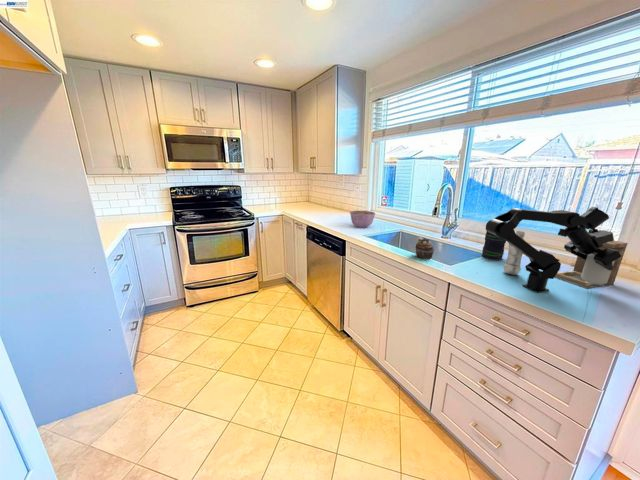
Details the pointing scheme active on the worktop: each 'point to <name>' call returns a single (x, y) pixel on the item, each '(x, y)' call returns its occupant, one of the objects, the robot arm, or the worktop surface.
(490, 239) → the storage jar
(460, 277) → the worktop surface
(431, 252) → the cupcake
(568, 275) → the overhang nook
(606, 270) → the can
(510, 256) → the plastic bottle
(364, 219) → the bowl of food
